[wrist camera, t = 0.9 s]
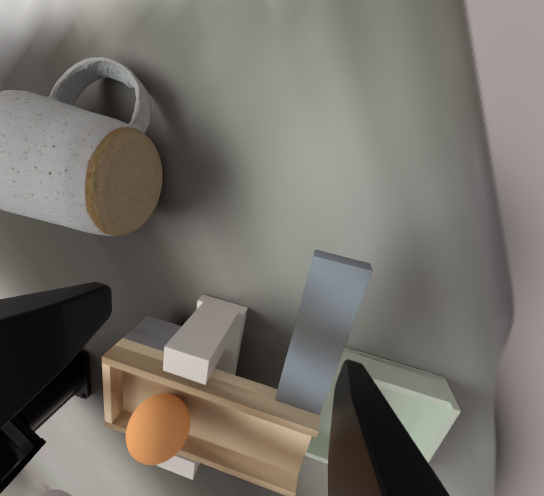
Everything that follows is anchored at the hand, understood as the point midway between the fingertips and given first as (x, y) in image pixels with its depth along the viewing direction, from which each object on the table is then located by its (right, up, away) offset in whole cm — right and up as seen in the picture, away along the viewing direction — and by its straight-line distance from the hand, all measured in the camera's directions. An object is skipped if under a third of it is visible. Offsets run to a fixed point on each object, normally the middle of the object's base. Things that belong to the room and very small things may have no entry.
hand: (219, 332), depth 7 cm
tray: (+9, -11, +16) cm, 22 cm away
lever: (-2, -4, +14) cm, 15 cm away
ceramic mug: (-10, +10, +13) cm, 20 cm away
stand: (-4, -8, +18) cm, 20 cm away
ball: (-6, -10, +11) cm, 16 cm away
